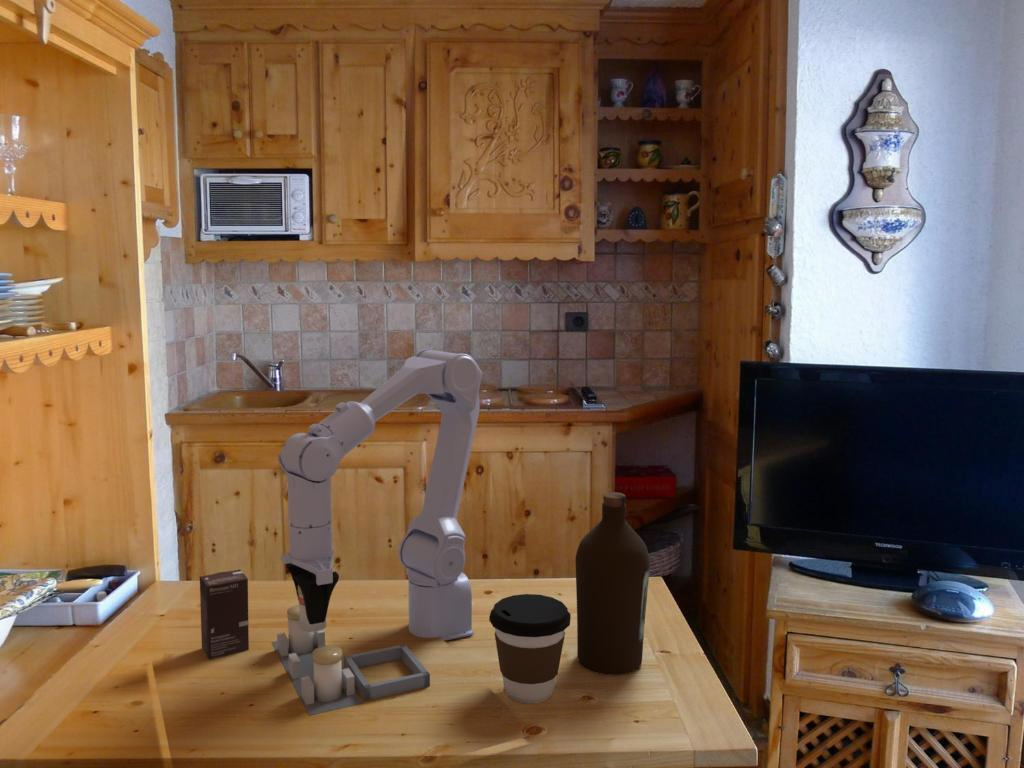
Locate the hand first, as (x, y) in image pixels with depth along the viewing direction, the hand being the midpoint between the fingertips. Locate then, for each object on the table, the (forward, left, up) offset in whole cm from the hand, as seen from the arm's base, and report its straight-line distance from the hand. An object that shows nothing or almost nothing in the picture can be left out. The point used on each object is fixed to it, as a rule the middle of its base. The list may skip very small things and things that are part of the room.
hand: (313, 616), depth 120 cm
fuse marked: (0, 0, -1) cm, 1 cm away
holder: (0, 0, -9) cm, 9 cm away
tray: (-8, +6, -9) cm, 14 cm away
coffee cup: (-25, +17, -9) cm, 31 cm away
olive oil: (-40, +14, -9) cm, 43 cm away
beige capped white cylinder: (0, -7, -8) cm, 11 cm away
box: (+10, -12, -9) cm, 18 cm away
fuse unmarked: (0, +8, -8) cm, 11 cm away
